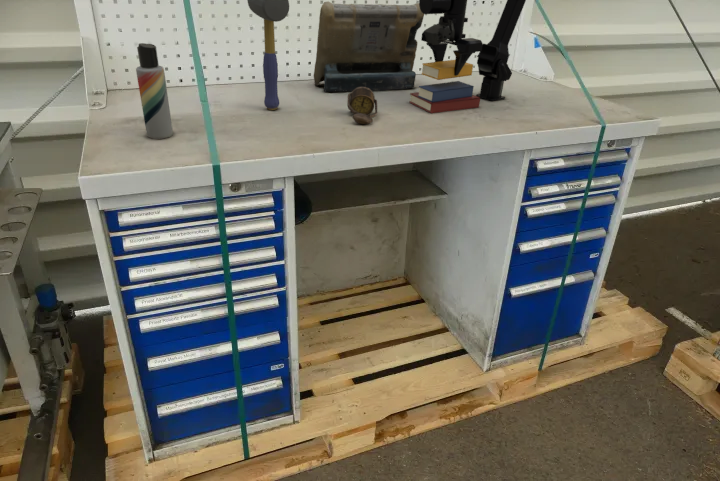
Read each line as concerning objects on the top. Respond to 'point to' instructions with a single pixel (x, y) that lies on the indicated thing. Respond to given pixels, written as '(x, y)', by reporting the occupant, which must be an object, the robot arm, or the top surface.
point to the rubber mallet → (270, 44)
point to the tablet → (367, 46)
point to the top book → (445, 70)
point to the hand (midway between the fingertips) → (447, 72)
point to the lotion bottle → (153, 93)
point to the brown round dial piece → (362, 105)
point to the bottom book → (444, 103)
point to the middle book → (445, 91)
